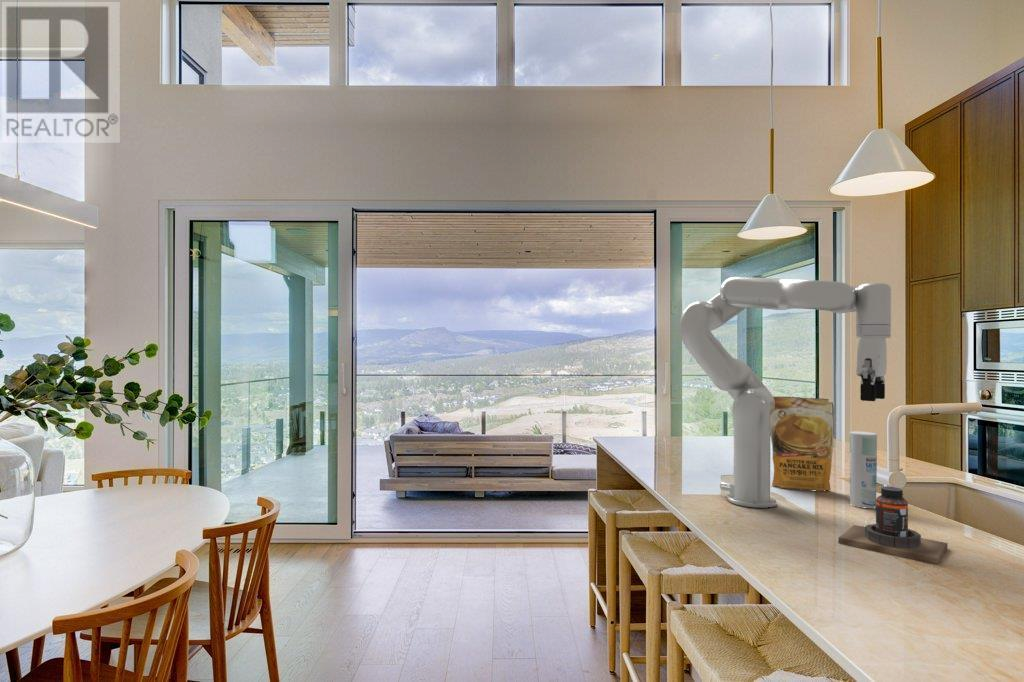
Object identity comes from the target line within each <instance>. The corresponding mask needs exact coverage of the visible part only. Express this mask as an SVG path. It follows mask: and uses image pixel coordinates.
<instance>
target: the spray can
mask: <svg viewBox="0 0 1024 682" xmlns="http://www.w3.org/2000/svg"><path fill="white" fill-rule="evenodd" d="M877 454H878V433H876V432H871V431H859V430H858V431H855V430H853V431H852V430H851V431H850V432H849V504H852V505H855V506H859V507H866V508H874V507H876V498H877V479H878V478H877V471H878V468H877V466H878V455H877ZM852 505H851V506H852ZM874 509H875V508H874Z"/></svg>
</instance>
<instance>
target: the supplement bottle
mask: <svg viewBox="0 0 1024 682" xmlns="http://www.w3.org/2000/svg"><path fill="white" fill-rule="evenodd" d="M903 492H904V490H903V489H902V488H900V487H895V486H881V488H880V495H878V496H876V508H875V524H876V532H878V533H881V534H885V535H890V536H896V537H908V529H909V503H908V501H907V500H906V499H905V498H904V497H903V496H904V493H903Z"/></svg>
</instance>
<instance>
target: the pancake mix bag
mask: <svg viewBox="0 0 1024 682" xmlns="http://www.w3.org/2000/svg"><path fill="white" fill-rule="evenodd" d="M773 398H774V401H775V408H774V411H773V412H772V414H771V415H770V442H771V447H772V449H771V450H772V463H773V478H772V483H771V487H775V486H778V487H777V488H779V487H781V488H780V489H785V488H788V489H787V490H795V489H802V490H801V491H808V490H816V491H815V492H819V491H824V490H831V491H832V488H831V483H830V479H831V475H832V474H831V473H832V472H831V471H832V463H833V453H834V452H833V451H834V445H835V443H834V438H835V418H834V416H835V409H834V402H832V401H830V399H829V398H823V397H822V398H819V397H818V398H817V397H816V398H815V397H813V398H812V397H801V396H773ZM824 492H825V491H824Z"/></svg>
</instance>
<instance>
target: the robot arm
mask: <svg viewBox="0 0 1024 682" xmlns="http://www.w3.org/2000/svg"><path fill="white" fill-rule="evenodd" d="M747 308H750V309H762V310H775V311H785V310H792V309H798V310H799V309H800V310H813V311H814V310H817V311H828V312H829V311H830V312H831V313H834V314H847V313H855V312H856V313H855V316H856V317H855V326H856V327H855V337H856V339H858V342H857V352H856V353H857V354H856V372H855V374H856V376H858V377H860V400H861V401H863V402H864V401H865V402H875V401H876V400H879V399H880V400H884V399H885V397H886V383H885V382H886V381H885V376H886V374H887V365H888V363H887V361H888V360H887V359H888V358H887V339H891V338H892V326H891V325H892V288H891V286H890V285H889V284H887V283H884V282H870V283H869V282H868V283H863V284H860V285H858V286H856V285H849V284H847V283H846V282H843V281H833V280H832V281H831V280H816V279H815V280H812V279H810V280H809V279H789V278H773V277H771V278H770V277H769V278H768V277H754V276H753V277H752V276H730V277H728V278H726V279H725V280H724V281H723V282H722V283H721V286H720V289H719V292H718V293H717V294H716V295H715V296H713V297H712V298H710V299H709V300H708V301H704V300H698V301H694V302H692V303H690V304H688V305H687V306H686V307H685V308H684V310H683V312H682V313H681V317H680V320H679V325H678V327H679V334H680V339H681V341H682V343H683V345H684V346H685V349H687V350H688V352H689V353H690V355H691V356H692V357H693V358H694V361H696V363H697V364H698V365H699V367H700V368H701V370H702V371H704V373H705V374H706V375H707V377H708V378H709V380H710V381H711V383H712V384H713V385H714V386H715V387H716V388H717V389H719V390H721V391H723V392H727V394H728V395H730V397H731V398H732V399H733V402H732V407H731V408H732V409H731V410H732V411H731V412H732V413H731V415H732V425H733V482H731V483H728V482H723V481H721V482H720V484H719V489H720V490H721V491H726V492H728V493H729V494H728V495H727V501H728V502H730V503H731V504H734V505H737V506H741V507H747V508H755V509H767V508H768V507H769V508H774V507H776V506H777V500H776V498H774V497H772V496H771V435H770V415H771V414H772V412H773V411H774V408H775V401H774V398H773V397H774V396H773V394H772V392H771V391H770V390H769V389H768V387H767V386H766V385H765V384H764V383H763V381H761V379H760V378H759V377H758V376H757V374H755V372H754V371H753V370H752V369H751V367H749V365H748V364H746V363H745V362H744V361H743V360H741V359H740V358H735V357H733V356H732V355H731V353H729V351H728V350H727V349H726V348H725V347H724V346H723V344H722V343H721V341H720V340H718V339H717V337H715V335H714V334H713V333H712V331H715V330H717V329H718V328H720V327H721V326H723V325H725V324H726V323H727V322H729V321H730V320H731V319H733V318H735V317H736V316H737V315H739V314H740V313H741V312H743V311H744V310H745V309H747Z"/></svg>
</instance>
